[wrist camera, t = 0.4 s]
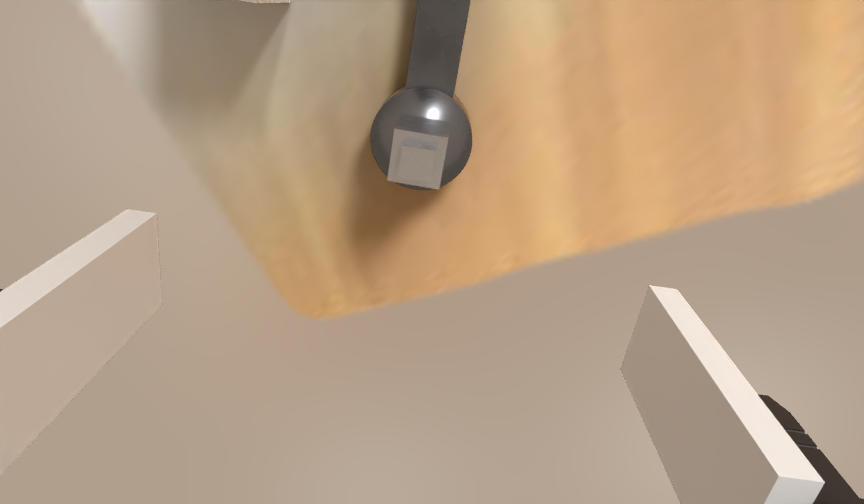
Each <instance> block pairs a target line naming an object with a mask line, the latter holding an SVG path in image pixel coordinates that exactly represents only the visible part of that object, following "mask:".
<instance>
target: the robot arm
mask: <svg viewBox="0 0 864 504" xmlns="http://www.w3.org/2000/svg"><path fill="white" fill-rule="evenodd" d="M161 292H162V291H161V275H160V258H159V241H158V224H157V213H151V212H144V211H138V210H131V209H127V210H125V211H124V212H122V213H120V214H119V215H117V216H116V217H114V218H113V219H111V220H110V221H108V222H107V223H105V224H104V225H102V226H101V227H99V228H98V229H96V230H94V231H93V232H91V233H90V234H88V235H87V236H85V237H84V238H82V239H81V240H79V241H78V242H76V243H74V244H73V245H71V246H70V247H69V248H67V249H66V250H64V251H62V252H61V253H59V254H58V255H56V256H55V257H53V258H52V259H50V260H48V261H47V262H46V263H44V264H42V265H41V266H39V267H38V268H36V269H35V270H33V271H32V272H30V273H29V274H27V275H26V276H24V277H22V278H21V279H19V280H18V281H16V282H15V283H13V284H12V285H10V286H9V287H7V288H6V289H0V476H1V475H2V474H3V473H4V471H6V469H7V468H8V467H9V466H10V465H11V464H12V463H13V462H14V461H15V460H16V459H17V458H18V457H19V456H20V455H21V454H22V453H23V451H24V450H25V449H26V448H27V447H28V446H29V445H30V444H31V443H32V442H33V441H34V440H35V439H36V438H37V437H38V436H39V435H40V434H41V432H42V431H43V430H44V429H45V428H46V427H47V426H48V425H49V424H50V423H51V422H52V421H53V420H54V419H55V418H56V417H57V415H58V414H59V413H60V412H61V411H62V410H63V409H64V408H65V407H66V406H67V405H68V404H69V403H70V402H71V401H72V400H73V398H74V397H75V396H76V395H77V394H78V393H79V392H80V391H81V390H82V389H83V388H84V387H85V386H86V385H87V384H88V383H89V382H90V380H91V379H92V378H93V377H94V376H95V375H96V374H97V373H98V372H99V371H100V370H101V369H102V368H103V367H104V366H105V365H106V364H107V363H108V361H109V360H110V359H111V358H112V357H113V356H114V355H115V354H116V353H117V352H118V351H119V350H120V349H121V348H122V347H123V346H124V344H125V343H126V342H127V341H128V340H129V339H130V338H131V337H132V336H133V335H134V334H135V333H136V332H137V331H138V330H139V329H140V328H141V327H142V325H143V324H144V323H145V322H146V321H147V320H148V319H149V318H150V317H151V316H152V315H153V314H154V313H155V312H156V311H157V310H158V308H159V307H160V306H161V305H162V293H161ZM620 370H621V372H622V374H623V377H624V379H625V380H626V383H627V385H628V387H629V390H630V392H631V394H632V396H633V399H634V401H635V403H636V405H637V408H638V410H639V412H640V414H641V417H642V419H643V421H644V423H645V426H646V428H647V430H648V432H649V434H650V437H651V439H652V441H653V443H654V445H655V448H656V450H657V452H658V454H659V457H660V459H661V461H662V463H663V465H664V468H665V470H666V472H667V475H668V477H669V479H670V481H671V483H672V486H673V488H674V490H675V492H676V494H677V497H678V499H679V501H680V503H681V504H864V499H861V498H859V497H858V496H857V495H856V494H855V492H854V491H853V490H852V489H851V487H850V486H849V485H848V484H847V482H846V481H845V480H844V479H843V477H842V476H841V475H840V474H839V473H838V471H837V470H836V469H835V468H834V466H833V465H832V464H831V463H830V461H829V460H828V459H827V458H826V456H825V455H824V454H823V453H822V452H821V451H820V450H819V449H817V448H816V447H817V446H816V444H815V443H814V442H813V441H812V439H811V438H810V437H809V435H808V434H805V433H804V429H803V428H802V427H801V426H800V424H799V423H798V422H797V421H796V420H795V418H794V417H793V416H792V415H791V413H790V412H788V411H787V410H786V409H785V408H783V407H782V406H780V405H779V404H778V403H777V402H775V401H774V400H773V399H772V398H770V397H769V396H766V395H758V394H757V393H756V392H755V391H754V389H753V388H752V387H751V385H750V384H749V383H748V381H747V380H746V379H745V378H744V376H743V375H742V374H741V372H740V371H739V370H738V368H737V367H736V366H735V364H734V363H733V362H732V361H731V359H730V358H729V357H728V355H727V354H726V353H725V351H724V350H723V349H722V348H721V346H720V345H719V343H718V342H717V341H716V340H715V338H714V337H713V336H712V335H711V333H710V332H709V330H708V329H707V328H706V327H705V325H704V324H703V323H702V321H701V320H700V319H699V317H698V316H697V315H696V313H695V312H694V311H693V310H692V308H691V307H690V306H689V304H688V303H687V302H686V300H685V299H684V298H683V296H682V295H681V294H680V293H679V291H678V290H677V289H671V288H664V287H658V286H651V285H649V287H648V290H647V293H646V296H645V299H644V302H643V304H642V308H641V310H640V313H639V316H638V319H637V322H636V325H635V328H634V331H633V334H632V336H631V339H630V342H629V345H628V348H627V351H626V354H625V357H624V360H623V363H622V366H621V369H620Z"/></svg>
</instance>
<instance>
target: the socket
mask: <svg viewBox="0 0 864 504" xmlns="http://www.w3.org/2000/svg"><path fill="white" fill-rule="evenodd" d="M239 1H244V2H250V3H290V0H239Z"/></svg>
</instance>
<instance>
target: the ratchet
mask: <svg viewBox="0 0 864 504" xmlns="http://www.w3.org/2000/svg"><path fill="white" fill-rule="evenodd" d="M469 5H470V0H418V4H417V11H416V18H415V25H414V32H413V39H412V46H411V53H410V60H409V66H408V73H407V80H406V86H404V87H402V88H400V89H398V90H397V91H395V92H394V93H393V94H392V95H391V96H390V97H389V98H388V99H387V100H386V101H385V103H384V104H383V106H382V107H381V109H380V110H379V112H378V114H377V115H376V117H375V120H374V122H373V125H372V130H371V148H372V152H373V155H374V158H375V160H376V162H377V164H378V166H379V167H380V169H381V170H382V171H383V172H384V174H385V175H386V176H388V178H387V181H392V182H395V183H397V184H399V185H401V186H404V187H407V188H410V189H416V190H429V189H438V190H439V188H440V186H443V185H445V184H447V183H448V182H450V181H452V180H453V179H454V178H455V177H456V176H457V175H458V174H459V173H460V172H461V171H462V170H463V168H464V167H465V165H466V163H467V161H468V159H469V156H470V153H471V148H472V133H471V126H470V120H469V116H468V113H467V111H466V109H465V107H464V105H463V103H462V102H461V101H460V100H459V98H458V97H457V96H456V95H455V94H454V89H455V84H456V78H457V73H458V67H459V61H460V56H461V50H462V45H463V39H464V33H465V28H466V22H467V17H468V11H469Z"/></svg>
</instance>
